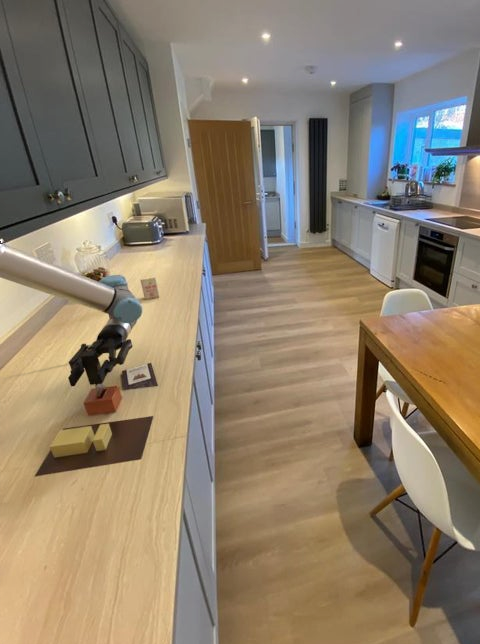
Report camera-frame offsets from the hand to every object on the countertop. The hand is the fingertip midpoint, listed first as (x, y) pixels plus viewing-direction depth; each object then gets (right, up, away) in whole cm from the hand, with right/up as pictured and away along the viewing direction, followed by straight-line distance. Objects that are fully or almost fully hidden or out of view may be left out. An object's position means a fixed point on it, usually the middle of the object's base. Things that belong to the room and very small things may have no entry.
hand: (85, 380), depth 80 cm
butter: (-1, -15, -3) cm, 16 cm away
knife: (-1, -11, +11) cm, 15 cm away
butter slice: (+6, -15, -1) cm, 16 cm away
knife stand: (-1, -11, +11) cm, 15 cm away
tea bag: (-22, +22, +84) cm, 90 cm away
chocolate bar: (+3, -6, +21) cm, 22 cm away
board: (+5, -16, -1) cm, 17 cm away
